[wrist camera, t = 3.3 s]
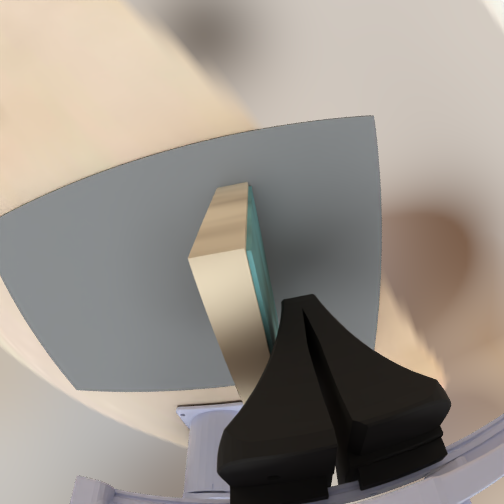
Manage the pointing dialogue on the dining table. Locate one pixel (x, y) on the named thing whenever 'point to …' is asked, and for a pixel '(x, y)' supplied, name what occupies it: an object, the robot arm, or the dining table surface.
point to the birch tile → (236, 284)
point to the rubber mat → (179, 247)
